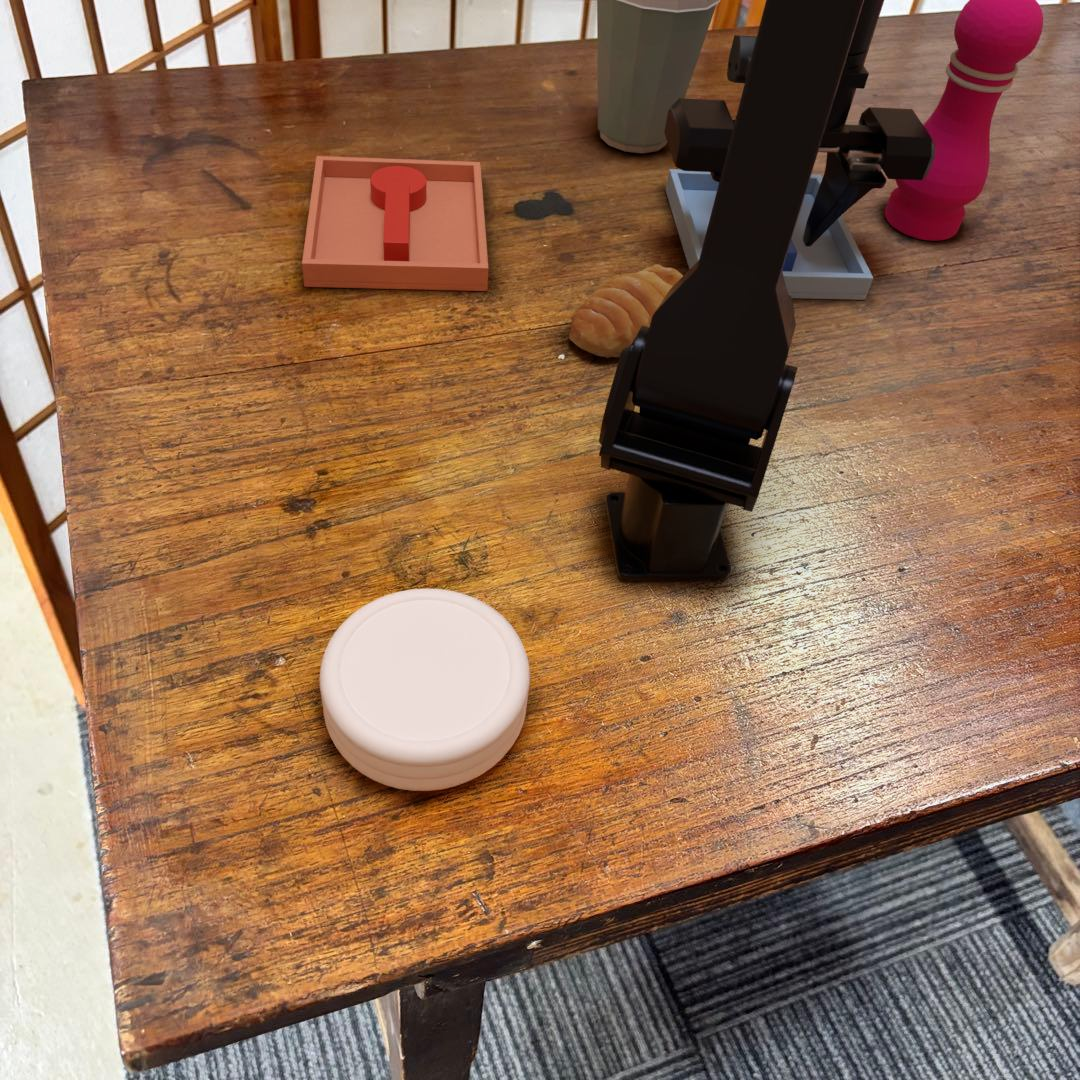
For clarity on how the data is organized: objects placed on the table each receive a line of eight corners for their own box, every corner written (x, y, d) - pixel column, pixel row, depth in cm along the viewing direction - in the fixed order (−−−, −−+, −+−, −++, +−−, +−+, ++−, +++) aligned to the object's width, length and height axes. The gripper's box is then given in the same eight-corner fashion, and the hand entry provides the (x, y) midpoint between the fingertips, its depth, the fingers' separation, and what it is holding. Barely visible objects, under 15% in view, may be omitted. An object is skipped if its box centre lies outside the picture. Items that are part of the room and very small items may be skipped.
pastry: (607, 380, 69) (614, 334, 66) (545, 330, 72) (549, 284, 69) (704, 334, 73) (715, 289, 70) (641, 288, 77) (649, 244, 74)
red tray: (487, 291, 75) (488, 267, 73) (304, 287, 73) (301, 263, 72) (479, 184, 85) (480, 161, 83) (318, 178, 83) (316, 155, 82)
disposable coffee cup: (560, 148, 90) (579, -36, 79) (594, 99, 97) (616, -77, 86) (677, 176, 88) (713, -8, 77) (702, 124, 95) (739, -52, 84)
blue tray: (865, 300, 78) (873, 277, 76) (697, 296, 76) (702, 273, 75) (814, 195, 88) (821, 174, 86) (665, 190, 86) (669, 168, 85)
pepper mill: (930, 254, 83) (1039, -6, 68) (861, 213, 87) (950, -42, 72) (980, 228, 86) (1094, -24, 72) (911, 190, 90) (1007, -58, 75)
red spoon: (427, 272, 75) (426, 243, 73) (366, 270, 74) (364, 241, 73) (426, 184, 83) (426, 157, 81) (371, 182, 83) (370, 154, 81)
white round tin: (472, 600, 56) (474, 558, 53) (561, 745, 50) (568, 707, 47) (295, 665, 52) (288, 623, 49) (369, 829, 46) (366, 792, 44)
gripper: (920, -2, 75) (854, 193, 86) (672, -17, 73) (638, 185, 84) (975, 65, 67) (894, 268, 79) (700, 50, 65) (659, 261, 77)
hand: (769, 242), depth 80 cm, fingers open, 6 cm apart
